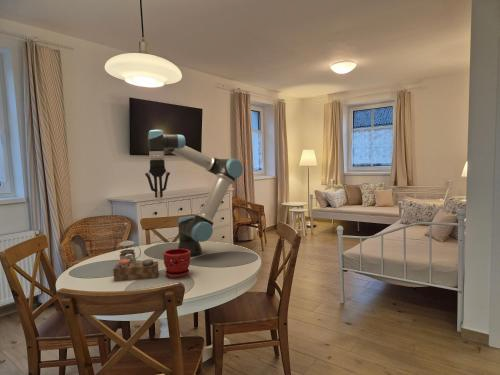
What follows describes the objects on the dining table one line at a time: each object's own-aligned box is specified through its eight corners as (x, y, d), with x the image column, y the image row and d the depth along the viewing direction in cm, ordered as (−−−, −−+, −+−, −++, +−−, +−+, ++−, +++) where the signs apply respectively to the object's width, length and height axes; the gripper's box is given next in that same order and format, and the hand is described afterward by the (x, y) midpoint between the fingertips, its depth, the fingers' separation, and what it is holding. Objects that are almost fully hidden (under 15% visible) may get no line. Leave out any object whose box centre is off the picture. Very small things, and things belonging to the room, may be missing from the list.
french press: (118, 267, 174) (115, 222, 172) (140, 264, 178) (138, 220, 176) (118, 273, 165) (115, 225, 163) (142, 269, 169) (139, 223, 167)
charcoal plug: (154, 272, 162) (153, 259, 162) (153, 276, 157) (152, 262, 156) (143, 273, 161) (143, 259, 161) (142, 277, 156) (141, 263, 156)
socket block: (158, 272, 163) (158, 261, 163) (157, 277, 157) (156, 265, 156) (117, 276, 160) (116, 264, 160) (114, 281, 153) (113, 269, 153)
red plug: (131, 272, 160) (130, 258, 160) (129, 276, 155) (128, 261, 155) (120, 273, 159) (120, 259, 159) (118, 276, 154) (117, 262, 154)
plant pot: (185, 279, 153) (184, 255, 152) (160, 278, 155) (158, 254, 154) (195, 270, 165) (194, 247, 164) (171, 269, 168) (170, 247, 167)
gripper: (143, 159, 164) (145, 205, 166) (169, 159, 166) (171, 204, 168) (145, 160, 172) (147, 203, 173) (170, 159, 174) (172, 202, 176)
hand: (159, 203), depth 171 cm, fingers closed
